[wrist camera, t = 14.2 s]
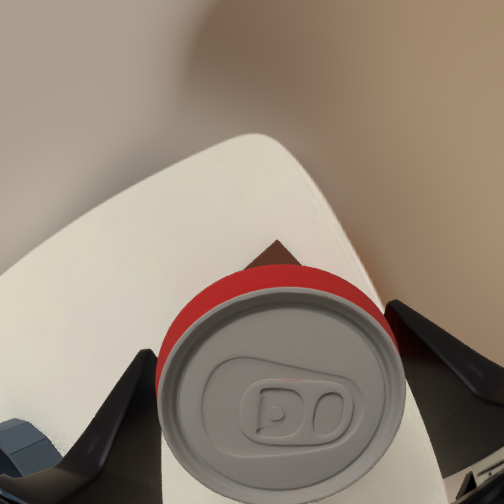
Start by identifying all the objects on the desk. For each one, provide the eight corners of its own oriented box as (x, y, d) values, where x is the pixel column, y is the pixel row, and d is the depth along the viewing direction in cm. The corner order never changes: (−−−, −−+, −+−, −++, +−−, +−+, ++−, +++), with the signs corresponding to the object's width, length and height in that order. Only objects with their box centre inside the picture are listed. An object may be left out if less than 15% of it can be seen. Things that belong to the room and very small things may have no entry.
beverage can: (222, 284, 17) (138, 238, 6) (330, 292, 17) (443, 261, 5) (213, 388, 16) (135, 500, 4) (320, 396, 16) (394, 511, 4)
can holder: (91, 490, 15) (61, 516, 9) (54, 506, 14) (28, 525, 8) (25, 404, 16) (-14, 415, 11) (0, 436, 16) (-31, 446, 10)
